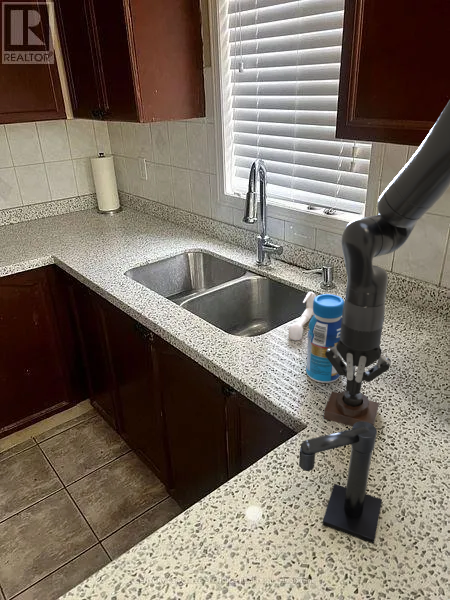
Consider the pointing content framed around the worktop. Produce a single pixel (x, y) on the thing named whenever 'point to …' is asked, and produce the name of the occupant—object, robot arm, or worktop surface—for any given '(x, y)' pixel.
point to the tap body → (354, 502)
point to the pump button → (352, 399)
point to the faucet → (302, 318)
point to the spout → (338, 443)
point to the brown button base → (350, 410)
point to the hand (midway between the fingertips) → (353, 392)
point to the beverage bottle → (323, 337)
